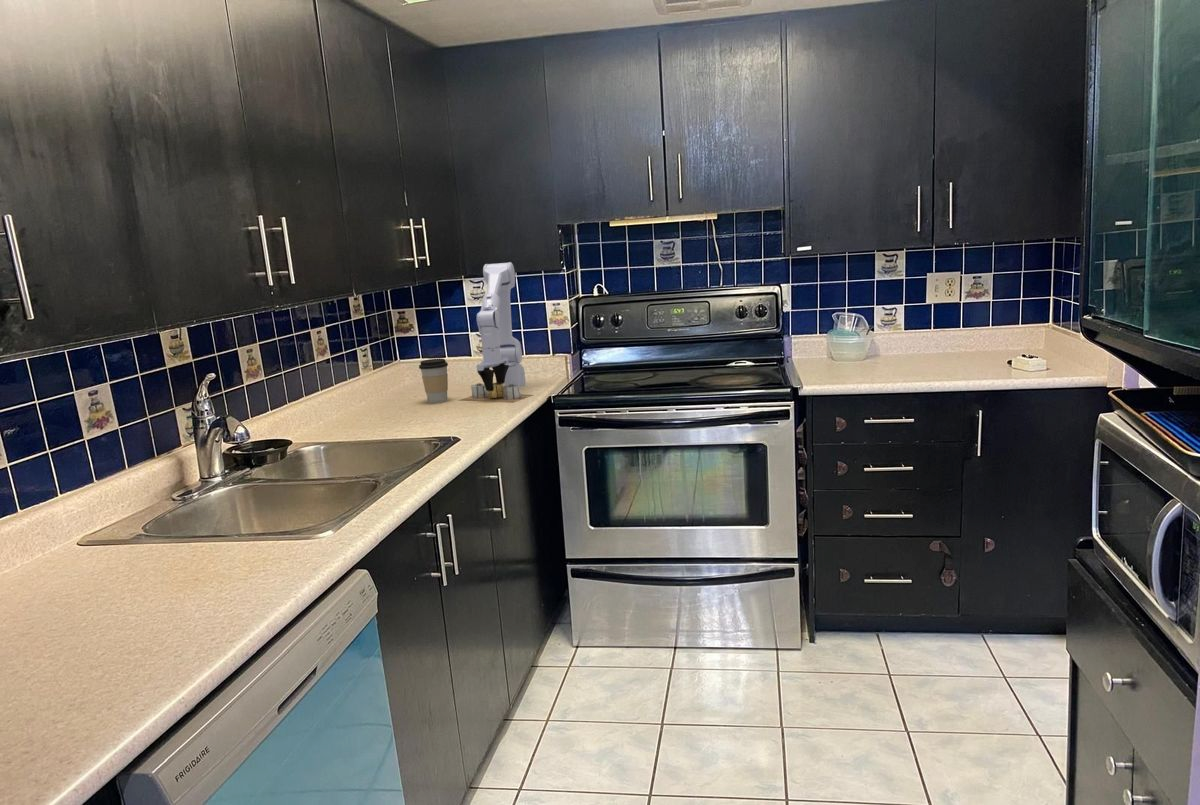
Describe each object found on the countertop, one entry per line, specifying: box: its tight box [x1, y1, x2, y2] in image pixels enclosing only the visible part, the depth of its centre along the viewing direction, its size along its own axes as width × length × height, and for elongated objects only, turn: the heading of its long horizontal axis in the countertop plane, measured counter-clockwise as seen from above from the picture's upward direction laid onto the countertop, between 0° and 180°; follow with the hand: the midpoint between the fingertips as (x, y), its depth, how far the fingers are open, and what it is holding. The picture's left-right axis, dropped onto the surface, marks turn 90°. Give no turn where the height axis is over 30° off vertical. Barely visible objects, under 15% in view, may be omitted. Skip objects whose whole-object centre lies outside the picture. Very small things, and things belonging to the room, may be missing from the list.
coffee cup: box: [418, 358, 449, 404], centre depth 267 cm, size 9×9×15 cm
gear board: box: [458, 382, 534, 404], centre depth 266 cm, size 12×22×6 cm, turn 61°
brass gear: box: [488, 381, 505, 398], centre depth 265 cm, size 5×5×4 cm
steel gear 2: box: [503, 384, 522, 400], centre depth 262 cm, size 5×5×4 cm
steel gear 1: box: [470, 383, 489, 399], centre depth 269 cm, size 5×5×4 cm
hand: (495, 388), depth 265 cm, fingers closed on brass gear, 5 cm apart
